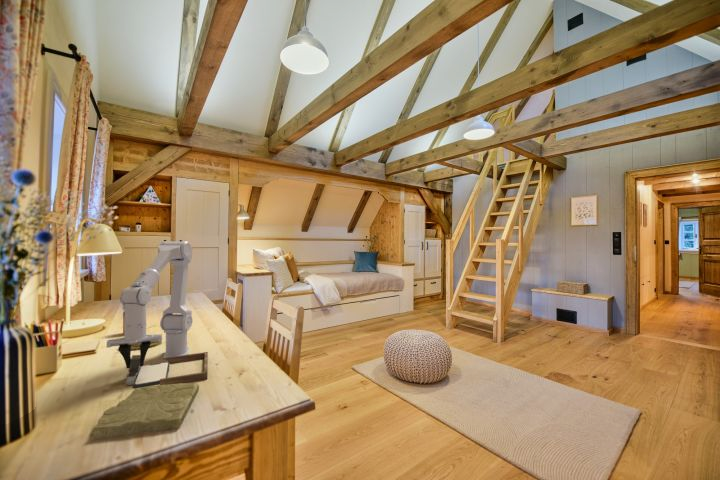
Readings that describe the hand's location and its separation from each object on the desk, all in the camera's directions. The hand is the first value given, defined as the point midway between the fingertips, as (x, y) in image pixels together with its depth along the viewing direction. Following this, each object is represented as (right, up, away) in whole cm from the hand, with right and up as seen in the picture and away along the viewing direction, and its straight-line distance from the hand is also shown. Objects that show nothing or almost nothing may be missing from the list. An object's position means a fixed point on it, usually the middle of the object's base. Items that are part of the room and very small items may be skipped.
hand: (135, 366), depth 102 cm
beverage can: (-37, -4, +49) cm, 61 cm away
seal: (-19, -4, +30) cm, 36 cm away
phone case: (+4, -4, +2) cm, 7 cm away
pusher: (-1, -4, 0) cm, 4 cm away
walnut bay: (+13, -4, +6) cm, 15 cm away
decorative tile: (+18, -5, -20) cm, 28 cm away
